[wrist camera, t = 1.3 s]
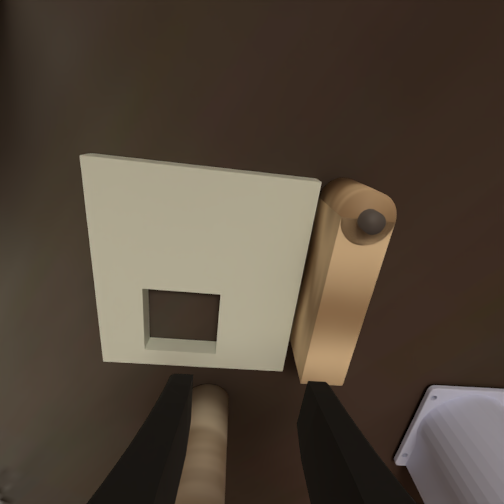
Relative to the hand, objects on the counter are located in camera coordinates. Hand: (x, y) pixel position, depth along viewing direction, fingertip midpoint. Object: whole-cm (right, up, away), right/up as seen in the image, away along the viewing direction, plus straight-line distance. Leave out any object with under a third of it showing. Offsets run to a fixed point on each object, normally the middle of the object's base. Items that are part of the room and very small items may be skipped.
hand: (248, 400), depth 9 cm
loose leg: (-3, -7, +13) cm, 15 cm away
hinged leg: (+5, +4, +9) cm, 11 cm away
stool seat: (-3, +3, +9) cm, 10 cm away
